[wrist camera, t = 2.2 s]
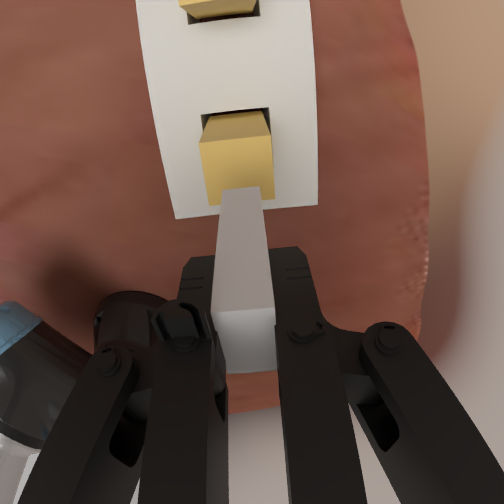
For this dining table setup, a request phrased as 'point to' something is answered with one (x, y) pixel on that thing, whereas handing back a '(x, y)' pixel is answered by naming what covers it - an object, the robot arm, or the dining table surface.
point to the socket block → (232, 92)
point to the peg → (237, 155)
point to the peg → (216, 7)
